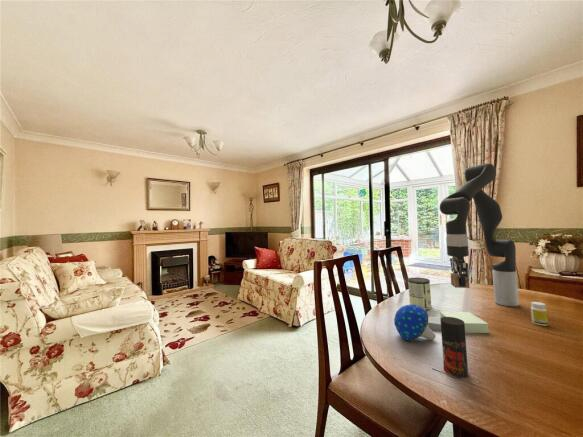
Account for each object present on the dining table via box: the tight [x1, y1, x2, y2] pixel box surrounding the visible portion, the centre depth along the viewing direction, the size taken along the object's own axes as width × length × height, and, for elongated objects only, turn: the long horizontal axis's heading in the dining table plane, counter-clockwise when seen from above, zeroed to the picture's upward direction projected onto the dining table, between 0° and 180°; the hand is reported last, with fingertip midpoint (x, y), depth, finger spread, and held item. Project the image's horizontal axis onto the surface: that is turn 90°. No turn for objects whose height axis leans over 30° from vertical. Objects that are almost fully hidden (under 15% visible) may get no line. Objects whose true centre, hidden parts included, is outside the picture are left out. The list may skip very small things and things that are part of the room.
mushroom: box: [393, 304, 437, 342], centre depth 89 cm, size 14×14×15 cm
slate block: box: [427, 316, 441, 332], centre depth 98 cm, size 7×7×3 cm
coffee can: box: [407, 276, 433, 311], centre depth 122 cm, size 10×10×14 cm
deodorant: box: [439, 317, 469, 379], centre depth 69 cm, size 6×6×15 cm
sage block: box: [439, 311, 489, 334], centre depth 98 cm, size 12×12×4 cm
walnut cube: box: [450, 272, 470, 289], centre depth 98 cm, size 5×5×5 cm
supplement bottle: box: [530, 301, 549, 327], centre depth 96 cm, size 5×5×8 cm
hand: (460, 284), depth 98 cm, fingers closed on walnut cube, 5 cm apart
